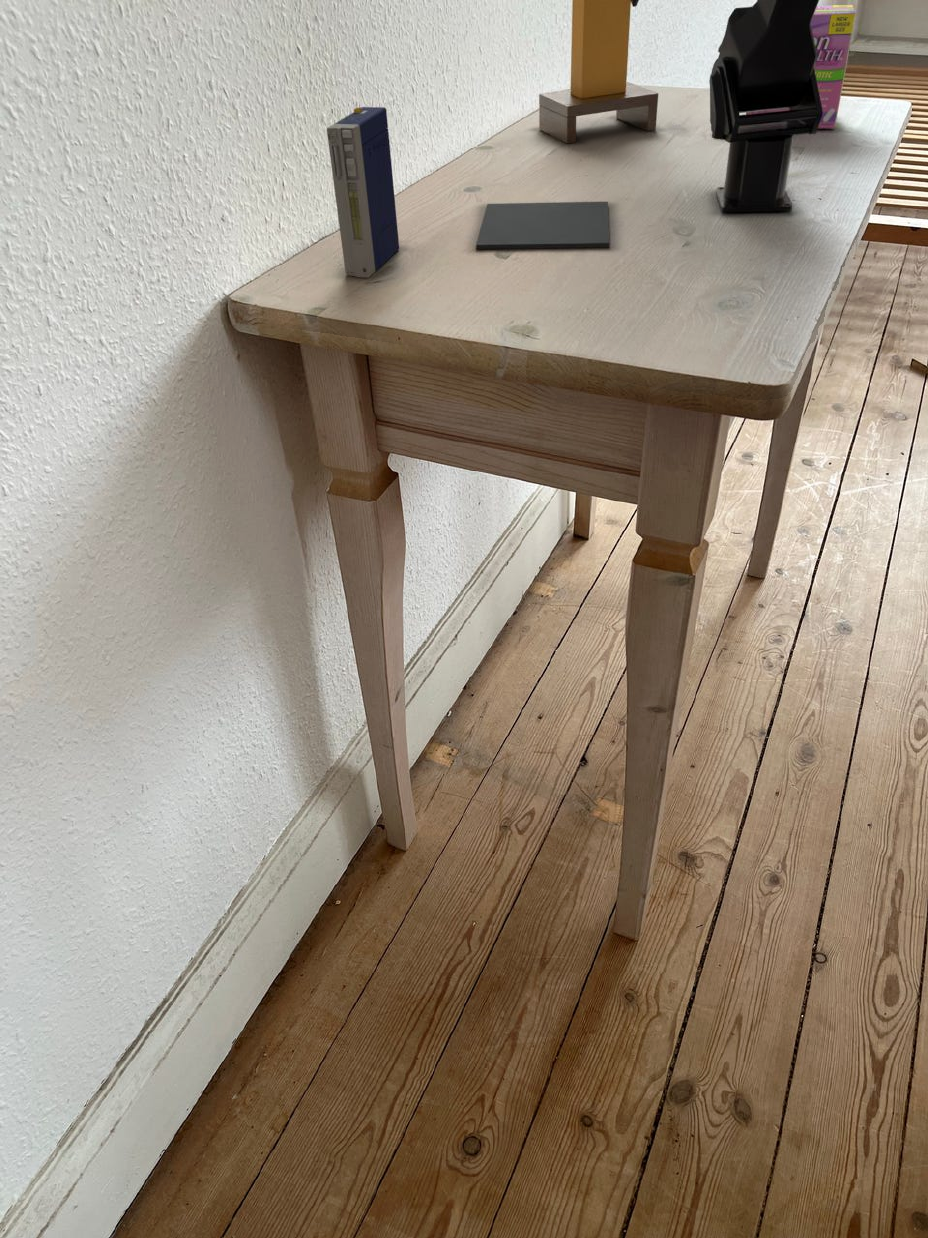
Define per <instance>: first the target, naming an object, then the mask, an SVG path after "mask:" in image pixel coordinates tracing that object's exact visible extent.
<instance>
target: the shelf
mask: <svg viewBox="0 0 928 1238" xmlns="http://www.w3.org/2000/svg"><path fill="white" fill-rule="evenodd" d="M570 92H571V88H570V89H564V90H563V89H562V90H556V91H549V92H548V91H547V92H543V93H539V94H538V104H539V105H538V106H539V107H538V129H539V131H542V132H544V133H545V134H546V135H549V136H551V137H553V138H555V139H557V140H560V141H561V142H563V143H564V144H574V143H576V141H577V117H581V116H582V117H583V116H588V115H594V114H600V113H601V114H602V113H609V112H614V111H616V112H615V117H616V119H618V120H620V121H622V122H625V123H627V124H629V125H632V126H635V127H637V128H639V129H641V130H643V131H645V132H651V131H656V129H657V119H658V107H659V106H658V104H659V92H657V91H654V90H651V89H648V88H646V87H642V86H640V85H637V84H635V83H632V82H630V81H626V92H625V93H618V94H611V95H604V96H597V97H590V98H583V99H581V98H579V97H576V96H574V95H571V94H570Z"/></svg>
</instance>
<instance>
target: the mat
mask: <svg viewBox="0 0 928 1238" xmlns="http://www.w3.org/2000/svg"><path fill="white" fill-rule="evenodd" d="M609 219H610V218H609V201H567V202H565V201H563V202H562V201H559V202H514V203H511V202H509V203H506V202H505V203H487V204H486V207H485V211H484V215H483V219H482V222H481V226H480V229H479V233H478V237H477V240H476V244H475V250H512V249H513V250H515V249H517V250H521V249H523V250H524V249H525V250H527V249H589V248H590V249H591V248H597V249H598V248H600V249H601V248H610V222H609V221H610V220H609Z"/></svg>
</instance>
